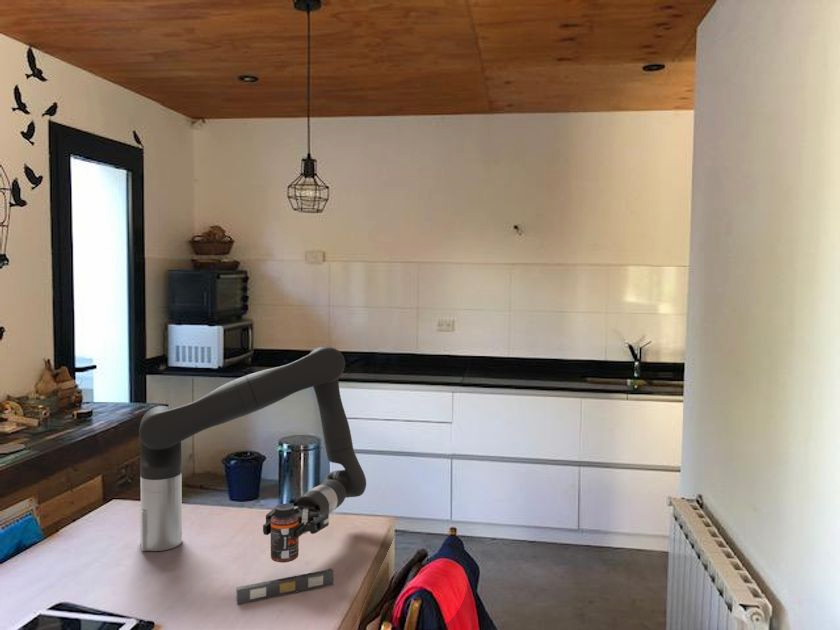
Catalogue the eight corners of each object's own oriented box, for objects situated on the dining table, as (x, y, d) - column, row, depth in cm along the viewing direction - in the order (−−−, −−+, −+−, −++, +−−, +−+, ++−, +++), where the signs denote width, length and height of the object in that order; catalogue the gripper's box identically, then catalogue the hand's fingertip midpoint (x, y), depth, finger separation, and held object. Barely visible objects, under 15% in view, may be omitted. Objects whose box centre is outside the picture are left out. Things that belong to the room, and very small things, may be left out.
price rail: (237, 605, 130) (237, 590, 130) (236, 601, 131) (236, 587, 131) (333, 585, 139) (334, 571, 139) (331, 582, 140) (331, 568, 140)
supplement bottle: (292, 565, 137) (291, 512, 136) (266, 562, 138) (265, 510, 138) (303, 553, 143) (302, 502, 142) (277, 550, 144) (277, 500, 143)
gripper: (288, 486, 156) (248, 511, 140) (343, 493, 151) (308, 519, 135) (289, 517, 156) (249, 545, 140) (343, 524, 152) (309, 554, 136)
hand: (278, 532), depth 138 cm, fingers closed on supplement bottle, 6 cm apart
